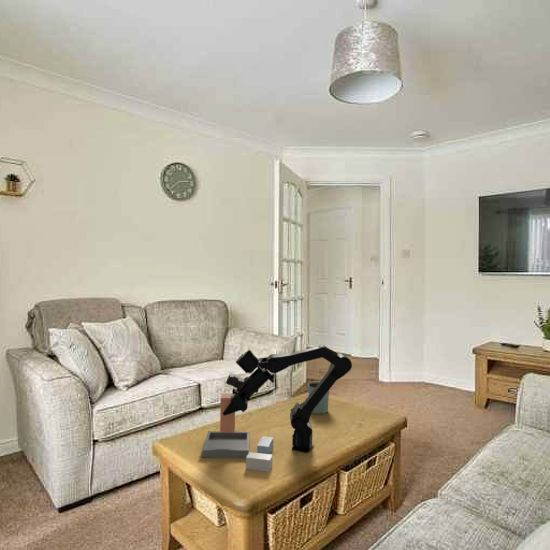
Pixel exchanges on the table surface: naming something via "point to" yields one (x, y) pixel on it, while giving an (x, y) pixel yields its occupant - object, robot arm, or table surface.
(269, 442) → the slate brick
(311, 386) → the blue-grey bin
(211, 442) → the tray
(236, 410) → the robot arm
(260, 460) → the grey brick
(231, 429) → the column
